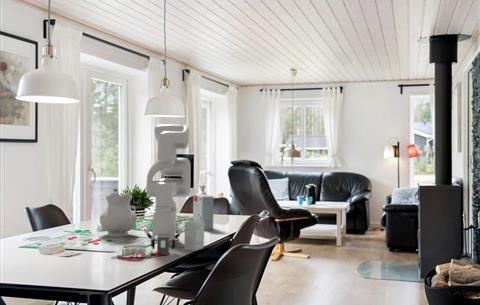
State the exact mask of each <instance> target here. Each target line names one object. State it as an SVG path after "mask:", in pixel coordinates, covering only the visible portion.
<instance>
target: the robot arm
mask: <svg viewBox="0 0 480 305" xmlns="http://www.w3.org/2000/svg"><path fill="white" fill-rule="evenodd" d="M154 136H155V139H156V143H157V160H156V161H155V163H154V164H152V166H151V167H150V168H149V170H148V172H147V175H146V187H145V188H146V191H145V192H146V195H147V196H148V197H151V198H155V211H154V212H153V216H152V224H151V226H149V227H147V229H145V230H144V233H145V234H146V236H147V237H148V239H149V240H150V247H151V248H152V250H154V249H155V248H156V246H155V244H156V241H157V240H158V237H169V242H171V249H172V250H175V249H174V248H175V247H176V241H177V240H179V239H180V236H181V234H182V233H183V230H182V229H181V228H180V227H178V226H177V204H176V202H175V201H174V200H173V198H186V197H189V196H190V193H191V181H192V179H191V173H192V172H191V169H192V168H191V167H192V166H191V161H190V159H188V158H186V157H177V149H178V150H180V149H182V150H184V149H187V148H188V146H189V144H190V143H189V141H190V129H189V127H188V126H187V125H186V124H172V123H170V124H168V123H167V124H164V123H163V124H158V125H156V126H155V127H154ZM157 173H160V174H161V175H162V176H167V177H181V178H167V177H166V178H161V179H159V180H154V176H155V175H156V174H157ZM150 231H151V233H152V234H151V233H150Z"/></svg>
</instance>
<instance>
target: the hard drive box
mask: <svg viewBox="0 0 480 305" xmlns="http://www.w3.org/2000/svg"><path fill="white" fill-rule="evenodd" d="M192 196H193V201H192V202H193V203H192V204H193V205H192V206H193V207H192V213H193V214H192V215H193V216H192V220H193V219H194V220H199V221H204V231H212V230H213V229H214V195H209V194H205V193H200V194H199V193H195V194H193V195H192Z"/></svg>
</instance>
